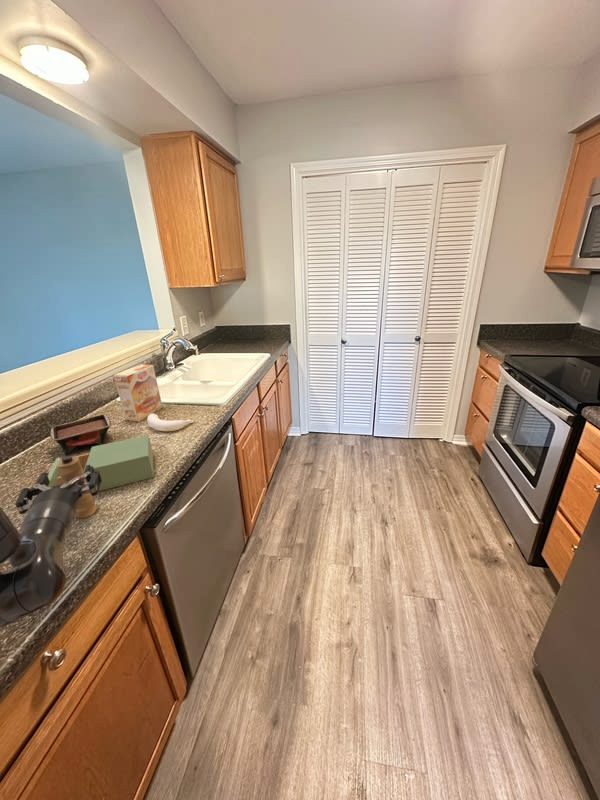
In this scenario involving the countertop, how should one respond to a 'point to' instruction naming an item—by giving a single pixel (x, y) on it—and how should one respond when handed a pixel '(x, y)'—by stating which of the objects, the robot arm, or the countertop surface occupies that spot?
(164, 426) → the banana
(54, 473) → the drawer
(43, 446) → the countertop surface
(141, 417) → the coffeecake box
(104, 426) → the baking dish
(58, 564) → the robot arm
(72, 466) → the pepper mill
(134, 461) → the cabinet
